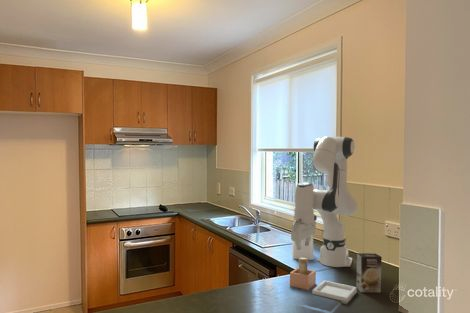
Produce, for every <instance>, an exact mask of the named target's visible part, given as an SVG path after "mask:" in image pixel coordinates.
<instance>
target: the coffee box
mask: <svg viewBox="0 0 470 313" xmlns="http://www.w3.org/2000/svg"><path fill="white" fill-rule="evenodd" d="M356 256H357V257H356V276H355V277H356V281H355V282H356V283H355V287H357V291H359V292H360V293H381V291H382V290H381V288H382V286H381V285H382V261H383V260H382V256H381V255H379V254H377V253H371V252H370V253H365V252H363V253H362V252H357V253H356Z"/></svg>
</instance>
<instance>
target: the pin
mask: <svg viewBox="0 0 470 313" xmlns="http://www.w3.org/2000/svg"><path fill="white" fill-rule="evenodd" d="M308 261H309V259H307V258H299V259H298V268H299V274H303V275H307V269H308V265H309V264H308Z"/></svg>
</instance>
